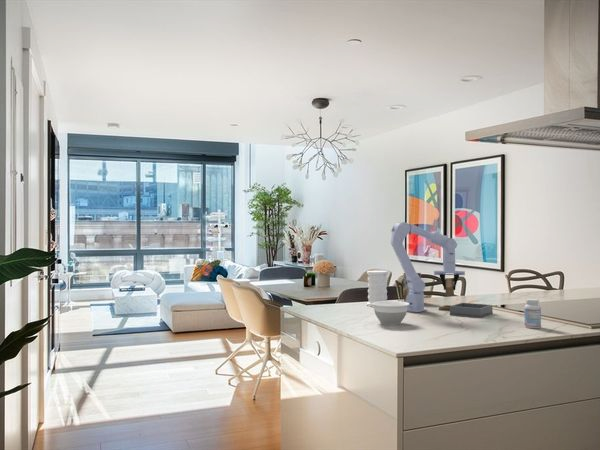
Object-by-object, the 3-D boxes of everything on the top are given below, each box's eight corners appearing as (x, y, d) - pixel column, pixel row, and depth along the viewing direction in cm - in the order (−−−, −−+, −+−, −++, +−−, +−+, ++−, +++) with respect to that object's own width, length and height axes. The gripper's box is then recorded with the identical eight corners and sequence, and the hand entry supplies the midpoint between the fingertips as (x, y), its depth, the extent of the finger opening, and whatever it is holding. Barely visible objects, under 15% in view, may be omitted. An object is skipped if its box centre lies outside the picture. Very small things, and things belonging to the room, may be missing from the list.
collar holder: (454, 311, 265) (454, 308, 265) (438, 309, 270) (438, 306, 270) (461, 309, 271) (461, 306, 271) (445, 308, 276) (445, 305, 277)
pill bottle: (527, 325, 225) (526, 298, 225) (543, 327, 221) (542, 299, 221) (522, 327, 220) (522, 299, 220) (538, 329, 216) (538, 300, 216)
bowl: (365, 321, 239) (365, 302, 239) (397, 319, 244) (397, 300, 244) (383, 327, 224) (383, 306, 224) (417, 325, 229) (416, 304, 229)
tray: (480, 317, 246) (480, 308, 246) (449, 314, 255) (449, 306, 255) (492, 313, 257) (492, 304, 257) (462, 310, 266) (462, 302, 266)
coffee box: (422, 302, 300) (421, 272, 300) (421, 303, 294) (420, 273, 294) (404, 301, 302) (404, 272, 303) (403, 303, 296) (403, 273, 296)
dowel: (451, 295, 268) (451, 279, 268) (444, 294, 271) (443, 278, 271) (455, 294, 271) (455, 278, 271) (447, 294, 274) (447, 278, 274)
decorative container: (381, 303, 296) (381, 270, 297) (393, 306, 286) (392, 271, 286) (362, 304, 292) (362, 271, 292) (373, 307, 281) (373, 272, 281)
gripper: (464, 261, 273) (465, 289, 273) (434, 261, 277) (435, 288, 277) (464, 262, 266) (464, 290, 266) (433, 262, 270) (434, 290, 270)
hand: (449, 289), depth 271 cm, fingers closed on dowel, 4 cm apart
